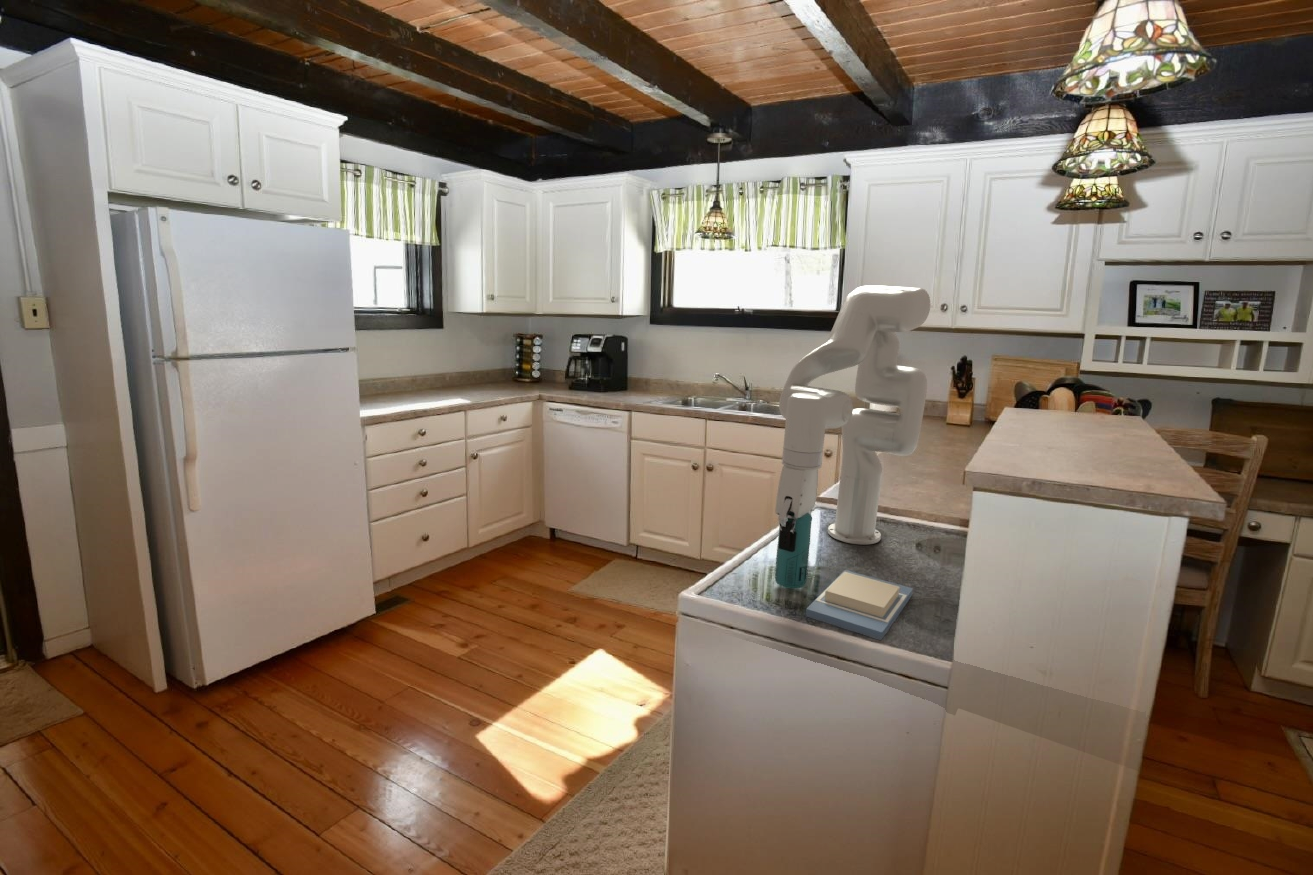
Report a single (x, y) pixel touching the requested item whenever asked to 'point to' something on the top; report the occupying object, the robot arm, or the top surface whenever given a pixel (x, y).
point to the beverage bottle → (795, 556)
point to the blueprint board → (856, 618)
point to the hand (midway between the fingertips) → (793, 543)
